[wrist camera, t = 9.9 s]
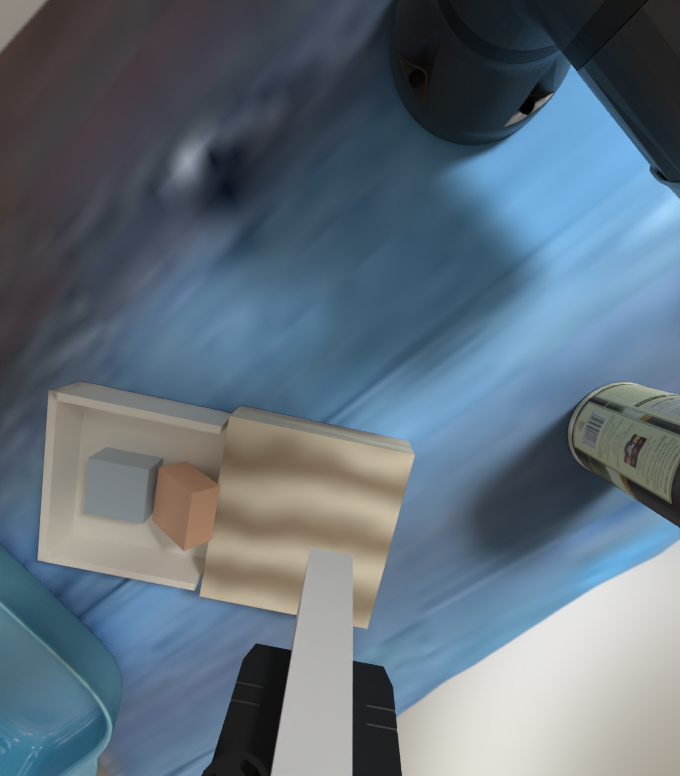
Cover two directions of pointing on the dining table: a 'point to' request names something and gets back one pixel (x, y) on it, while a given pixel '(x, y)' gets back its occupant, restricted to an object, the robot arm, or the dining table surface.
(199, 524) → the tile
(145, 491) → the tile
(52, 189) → the dining table surface
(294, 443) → the wavy grain square board
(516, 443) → the dining table surface
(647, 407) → the coffee can
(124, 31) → the dining table surface
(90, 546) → the tray
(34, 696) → the casserole dish
